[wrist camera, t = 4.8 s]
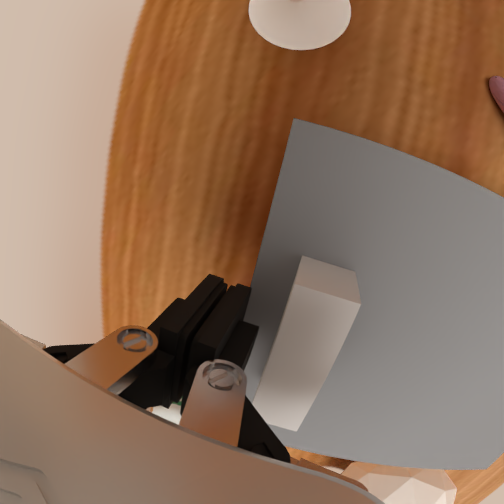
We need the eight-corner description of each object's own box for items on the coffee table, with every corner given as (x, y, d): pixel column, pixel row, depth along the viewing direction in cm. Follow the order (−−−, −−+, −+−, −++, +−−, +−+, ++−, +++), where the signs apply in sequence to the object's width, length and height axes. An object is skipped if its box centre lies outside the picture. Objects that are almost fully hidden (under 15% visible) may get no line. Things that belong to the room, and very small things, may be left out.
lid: (296, 120, 11) (283, 107, 7) (607, 267, 8) (641, 292, 5) (219, 411, 16) (197, 457, 13) (483, 458, 13) (493, 495, 10)
